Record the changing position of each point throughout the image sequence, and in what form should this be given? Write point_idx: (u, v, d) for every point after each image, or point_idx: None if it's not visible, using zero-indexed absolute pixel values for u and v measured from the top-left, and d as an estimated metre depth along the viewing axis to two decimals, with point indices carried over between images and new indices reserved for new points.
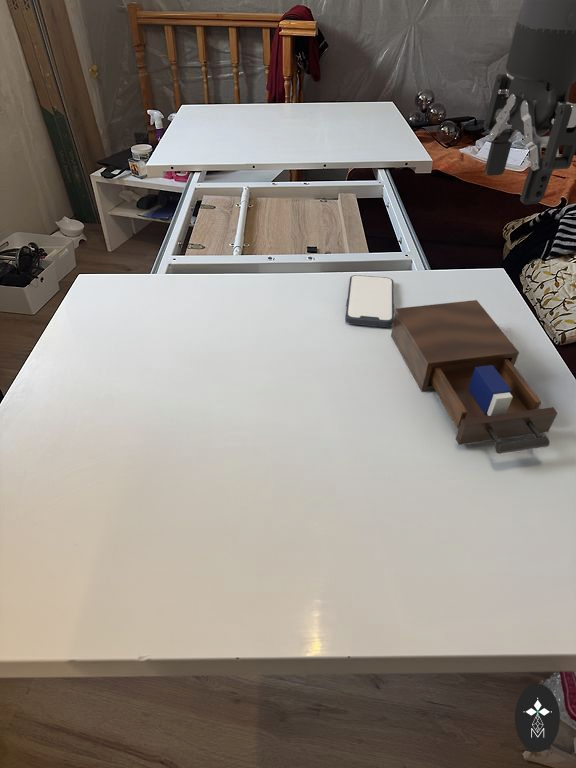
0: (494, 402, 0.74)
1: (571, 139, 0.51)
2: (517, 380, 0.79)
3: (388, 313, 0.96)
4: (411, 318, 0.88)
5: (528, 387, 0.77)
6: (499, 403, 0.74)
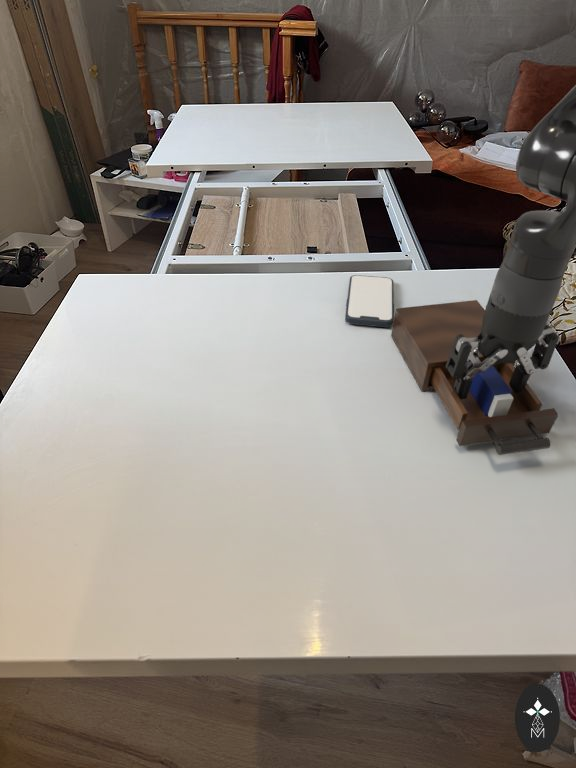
0: (495, 403, 0.74)
1: None
2: None
3: (388, 313, 0.96)
4: (411, 318, 0.88)
5: (529, 388, 0.77)
6: (500, 404, 0.74)
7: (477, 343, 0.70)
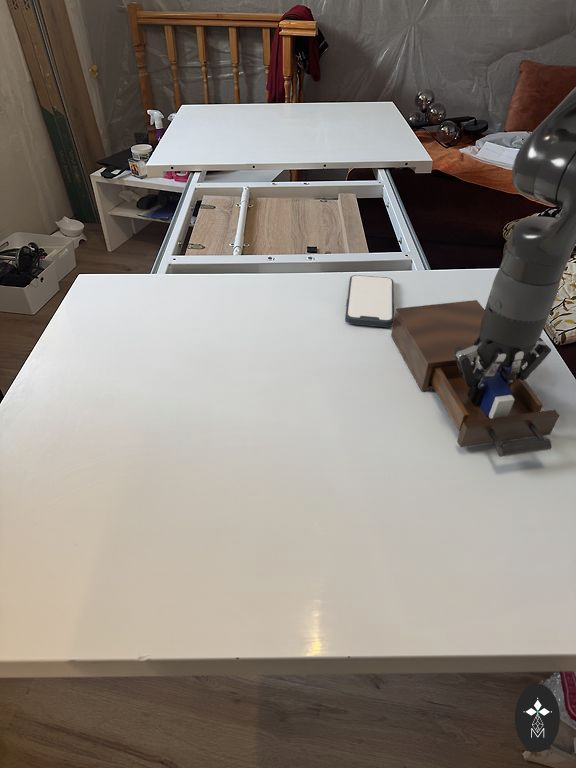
0: (496, 405, 0.73)
1: None
2: (519, 383, 0.79)
3: (388, 313, 0.96)
4: (411, 318, 0.88)
5: (530, 389, 0.77)
6: (501, 406, 0.73)
7: (475, 351, 0.71)
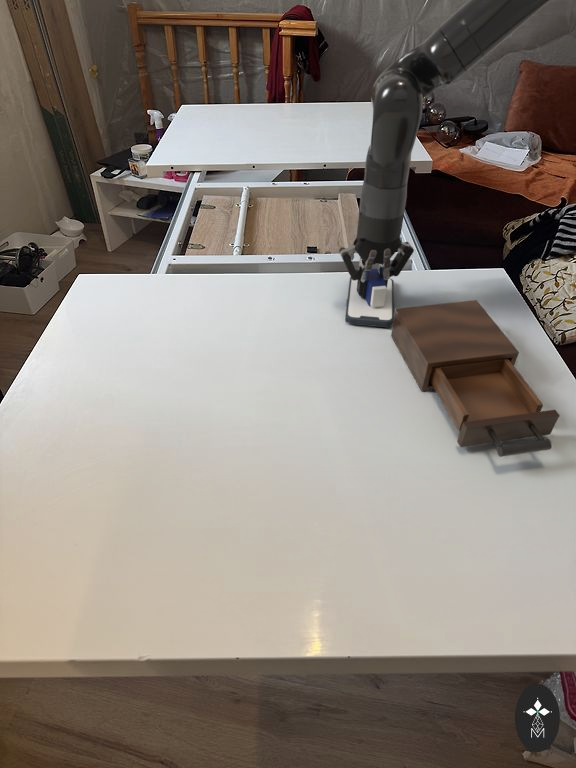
0: (373, 293, 0.95)
1: None
2: (519, 383, 0.79)
3: (388, 313, 0.96)
4: (411, 318, 0.88)
5: (530, 389, 0.77)
6: (377, 294, 0.95)
7: (353, 249, 0.93)
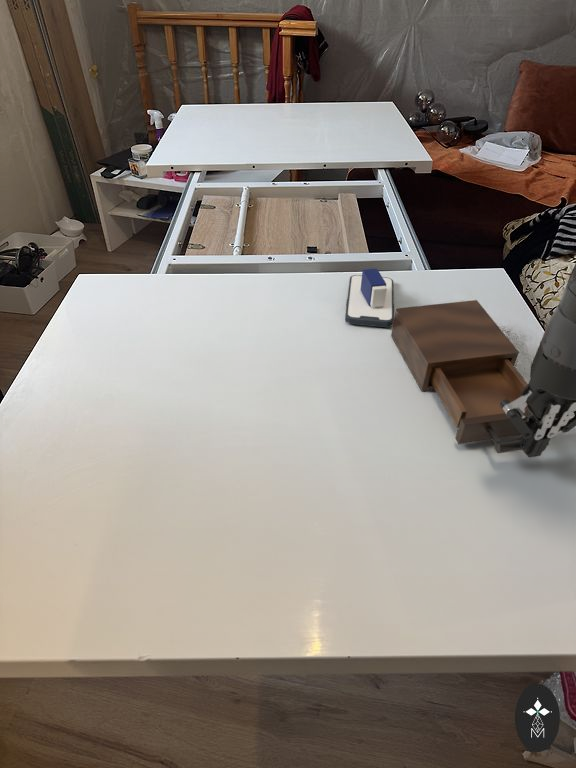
0: (373, 293, 0.95)
1: None
2: (517, 380, 0.79)
3: (388, 313, 0.96)
4: (411, 318, 0.88)
5: None
6: (377, 293, 0.95)
7: (524, 403, 0.62)
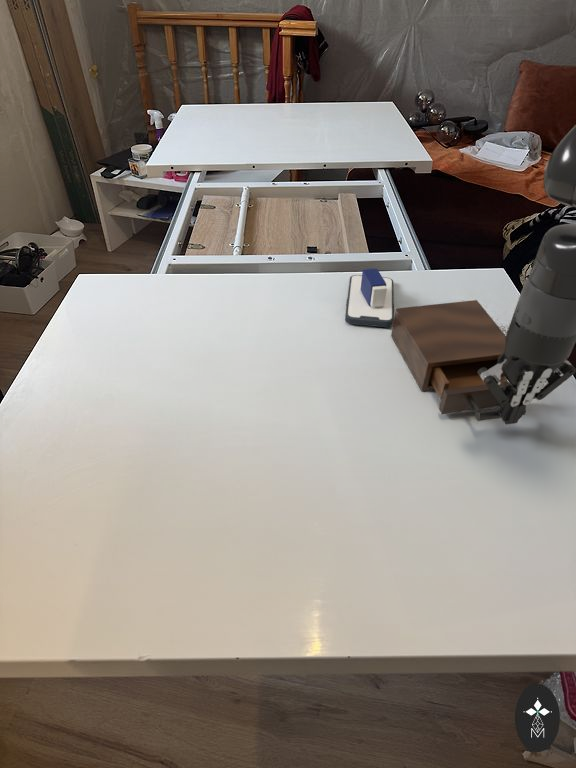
0: (373, 293, 0.95)
1: None
2: None
3: (388, 313, 0.96)
4: (411, 318, 0.88)
5: None
6: (377, 293, 0.95)
7: (500, 370, 0.66)
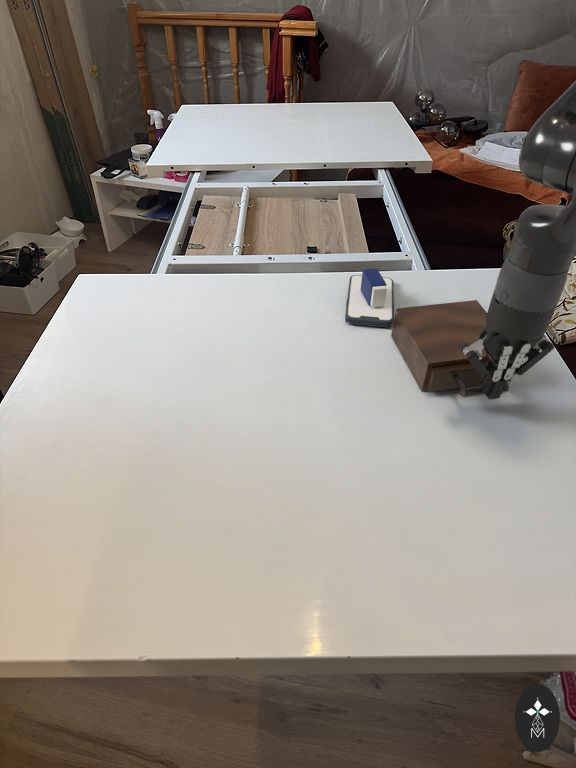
0: (373, 293, 0.95)
1: None
2: None
3: (388, 313, 0.96)
4: (411, 318, 0.88)
5: None
6: (377, 294, 0.95)
7: (481, 346, 0.70)
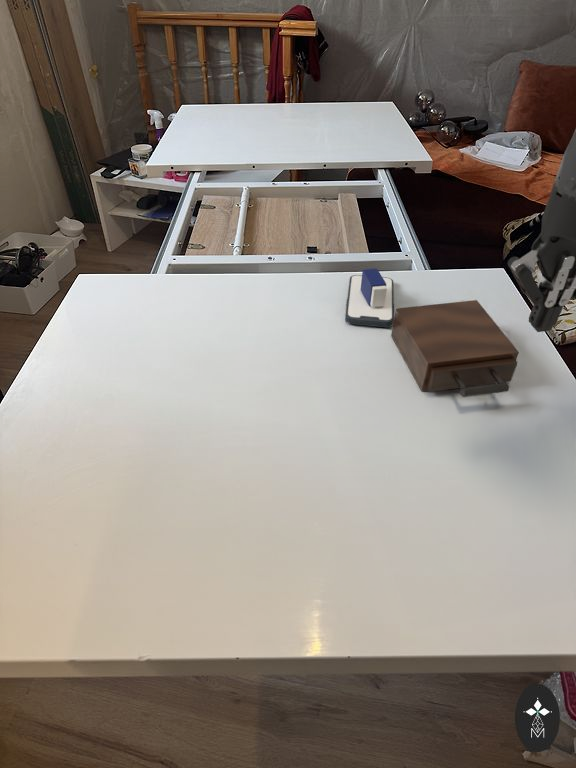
0: (373, 293, 0.95)
1: None
2: None
3: (388, 313, 0.96)
4: (411, 318, 0.88)
5: None
6: (377, 293, 0.95)
7: (535, 258, 0.56)
